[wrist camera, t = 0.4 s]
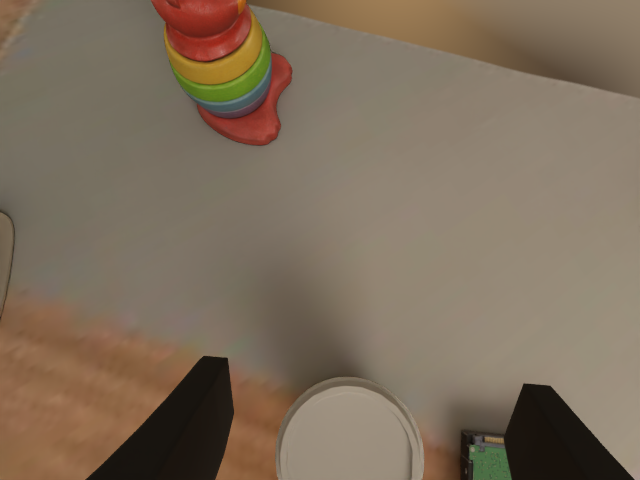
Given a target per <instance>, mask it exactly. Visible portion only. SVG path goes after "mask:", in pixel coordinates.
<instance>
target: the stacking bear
mask: <svg viewBox="0 0 640 480" xmlns="http://www.w3.org/2000/svg"><path fill="white" fill-rule="evenodd" d="M151 1H152V4H153V5H154V7H155V9H156V10H157V12H158V13H159V15H160V16H161V17H162V18H163V20H164V21H165V22H166V23H165V26H164V41H165V46H166V50H167V54H168V57H169V61H170V65H171V68H172V70H173V72H174V75H175V77H176V79H177V81H178V82H179V84H180V85H181V87H182V89H183V90H184V91H185V92H186V93H187V94H188V96H189V97H190V98H191V99H193V100H194V101H195V102H196V103H197V107H198V110H199V113H200V115H201V117H202V118H203V119H204V121H205V122H206V123H207V124H208V125H209V126H211V127H212V128H213V129H214V130H215V131H217V132H218V133H220V134H222V135H223V136H225V137H227V138H229V139H232V140H234V141H237V142H241V143H245V144H251V145H266V144H268V143H269V142H270V141H271V140H274V139H275V138H276V137H277V135H278V131H279V130H280V127H281V124H280V121H279V118H278V116H277V111H276V104H277V100H278V97H279V95H280V93H281V92H282V91H283V90H284V89H285V88H286V87H287V86H288V85H289V83H290V82H291V79H292V77H291V74H292V67H291V65H290V64H289V63H288V62H287V60H286V59H285V58H284V57H283V56H281V55H278V54H274V53H271V51H270V45H269V42H268V39H267V37H266V34H265V32H264V30H263V28H262V26H261V25H260V23H259V22H258V20H257V19H256V17H255V15H254V13H253V12H252V10H251V9H250V8H249V6H248V5H247V3H246V0H151Z"/></svg>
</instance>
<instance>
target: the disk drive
mask: <svg viewBox="0 0 640 480" xmlns="http://www.w3.org/2000/svg"><path fill="white" fill-rule="evenodd" d="M503 438H504V435H501V434H492V433H483V432H474V431H467V430H463V431H462V440H461V480H512V479H511V474H510V470H509V465H508V460H507V455H506V450H505V445H504V439H503Z"/></svg>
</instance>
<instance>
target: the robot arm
mask: <svg viewBox="0 0 640 480" xmlns="http://www.w3.org/2000/svg"><path fill="white" fill-rule="evenodd" d="M233 415H234V408H233V400H232V391H231V382H230V374H229V365H228V358H222V357H211V356H203V357H202V358H201V359H200V360H199V361H198V362H197V363H196V364H195V366H194V367H193V368H192V369H191V370H190V372H189V373H188V374H187V375H186V376H185V377H184V379H183V380H182V381H181V382H180V383H179V384H178V386H177V387H176V388H175V389H174V390H173V391H172V392H171V394H170V395H169V396H168V397H167V398H166V399H165V400H164V401H163V403H162V404H161V405H160V406H159V407H158V408H157V409H156V410H155V411H154V412H153V413H152V414H151V415H150V416H149V418H148V419H147V420H146V421H145V422H144V423H143V424H142V425H141V426H140V427H139V428H138V429H137V430H136V431H135V432H134V433H133V434H132V435H131V436H130V437H129V438H128V439H127V440H126V441H125V442H124V443H123V444H122V445H121V446H120V447H119V448H118V449H117V450H116V451H115V452H114V453H113V454H112V455H111V456H110V457H109V458H108V459H107V460H106V461H105V462H104V463H103V464H102V465H101V466H100V467H99V468H98V469H97V470H95V471H94V472H93V473H92V474H91V475H90V476H89V477H88V478H87V479H86V480H215V479H216V476H217V473H218V470H219V467H220V464H221V462H222V459H223V456H224V453H225V449H226V445H227V441H228V437H229V432H230V428H231V424H232V420H233ZM503 439H504V445H505V450H506V455H507V460H508V465H509V470H510V474H511V479H512V480H634V478H633V477H632V476H631V475H630V474H629V473H628V472H627V471H626V470H625V469H624V468H623V467H622V466H621V465H620V463H619V462H618V461H617V460H616V459H615V458H614V457H613V456H612V455H611V454H610V453H609V451H608V450H607V449H606V448H605V447H604V446H603V445H602V444H601V443H600V441H599V440H598V439H597V438H596V437H595V436H594V435H593V434H592V432H591V431H590V430H589V429H588V428H587V427H586V426H585V425H584V423H583V422H582V421H581V420H580V419H579V418H578V417H577V415H576V414H575V413H574V412H573V411H572V410H571V409H570V407H569V406H568V405H567V404H566V403H565V402H564V401H563V399H562V398H561V397H560V396H559V395H558V394H557V393H556V392H555V390H554V389H553V388H552V387H551V386H548V385H536V384H523V387H522V389H521V392H520V395H519V397H518V400H517V403H516V406H515V408H514V411H513V414H512V416H511V419H510V422H509V425H508V427H507V430H506V433H505V435H504V438H503Z"/></svg>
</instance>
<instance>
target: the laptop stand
mask: <svg viewBox="0 0 640 480" xmlns="http://www.w3.org/2000/svg"><path fill="white" fill-rule="evenodd" d="M13 248H14V226H13V223H12V221H11V219H10V218H9V217H8V216H7V215H5V214H3V213H1V212H0V318H1V314H2V310H3V305H4V301H5V297H6V292H7V287H8V281H9V276H10V270H11V263H12V256H13Z"/></svg>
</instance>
